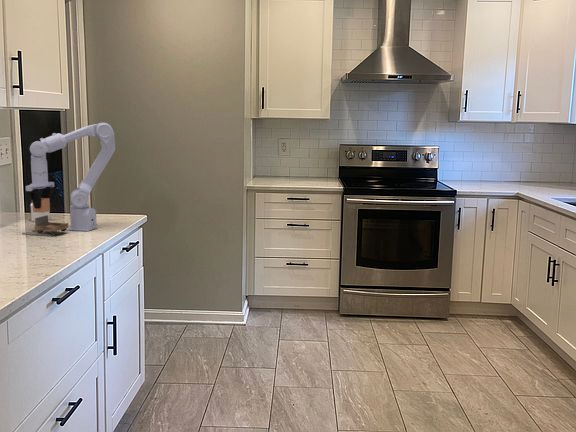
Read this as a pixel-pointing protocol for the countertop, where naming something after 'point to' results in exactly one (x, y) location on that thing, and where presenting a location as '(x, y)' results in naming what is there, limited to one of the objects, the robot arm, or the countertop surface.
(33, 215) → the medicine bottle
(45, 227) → the cart
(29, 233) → the rails
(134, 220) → the countertop surface
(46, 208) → the terracotta block
